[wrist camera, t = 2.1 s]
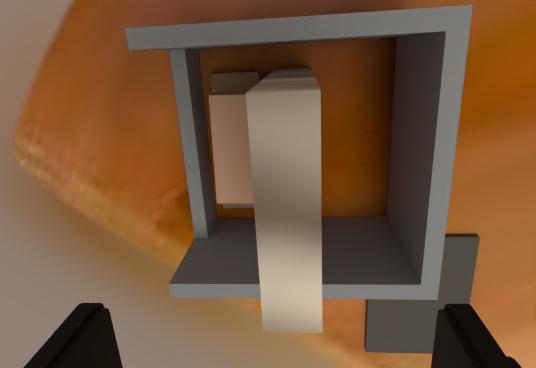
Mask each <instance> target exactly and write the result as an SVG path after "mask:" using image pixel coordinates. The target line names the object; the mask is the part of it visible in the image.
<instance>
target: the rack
mask: <svg viewBox="0 0 536 368" xmlns="http://www.w3.org/2000/svg"><path fill="white" fill-rule="evenodd" d="M472 7H473V5H463V6H448V7H433V8H418V9H403V10H388V11H373V12H358V13H343V14H328V15H313V16H298V17H284V18H269V19H254V20H239V21H224V22H209V23H194V24H179V25H164V26H149V27H134V28H125V31H126V37H127V43H128V48H129V50H169V53H170V60H171V67H172V75H173V82H174V89H175V96H176V104H177V111H178V118H179V126H180V133H181V140H182V148H183V155H184V162H185V169H186V177H187V184H188V191H189V199H190V206H191V213H192V221H193V228H194V235H195V238H194V240H193V242H192V244H191V246H190V247H189V249H188V251H187V253H186V254H185V256H184V258H183V260H182V262H181V263H180V265H179V267H178V269H177V270H176V272H175V274H174V276H173V278H172V279H171V281H170V283H169V287H170V293H171V297H172V298H261V293H260V280H259V266H258V253H257V239H256V226H255V218H226V219H217V211H216V202H215V193H214V184H213V176H212V167H211V158H210V149H209V140H208V131H207V122H206V113H205V104H204V95H203V86H202V77H201V68H200V59H199V50H198V49H204V48H221V47H237V46H254V45H271V44H287V43H304V42H320V41H337V40H354V39H370V38H387V37H397V44H396V61H395V78H394V95H393V112H392V130H391V147H390V164H389V181H388V198H387V215H386V216H372V217H322V299H407V300H438V291H439V283H440V275H441V266H442V258H443V250H444V241H445V233H446V225H447V216H448V208H449V199H450V191H451V183H452V174H453V166H454V158H455V149H456V141H457V133H458V124H459V116H460V108H461V99H462V91H463V82H464V74H465V66H466V57H467V49H468V41H469V32H470V24H471V16H472Z"/></svg>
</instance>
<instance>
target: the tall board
mask: <svg viewBox="0 0 536 368" xmlns="http://www.w3.org/2000/svg"><path fill="white" fill-rule="evenodd" d="M246 104H247V117H248V131H249V144H250V158H251V172H252V185H253V199H254V212H255V226H256V239H257V253H258V266H259V280H260V293H261V307H262V321H263V332H291V333H322V209H321V89H320V87H319V85H318V83H317V80H316V78H315V76H314V74H313V72H312V70H311V67H307V68H288V69H275V70H274V71H272V72H271V73H270V74H269V75H267V76H266V77H265V78H264V79H263V80H261V81H260V82H259V83H258V84H256V85H255V86H254V87H253V88H251V89H250V90H249V91H248V92H246Z"/></svg>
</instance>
